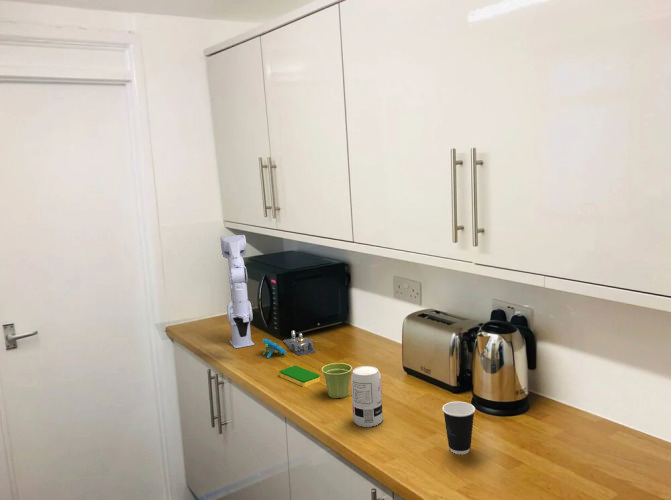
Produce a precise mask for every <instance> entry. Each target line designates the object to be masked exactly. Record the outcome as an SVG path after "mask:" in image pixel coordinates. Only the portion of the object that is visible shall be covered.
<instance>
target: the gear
mask: <svg viewBox="0 0 671 500" xmlns="http://www.w3.org/2000/svg"><path fill="white" fill-rule="evenodd" d="M262 342H263V344H264V347H265V348H264V351H263V353H262V355H263V356H265V355H266V353H267V351H269V352H268V354H267V356H266V359H270V357H271V356H272V355H273V353H274V352H275V351H276V352H278V354H282V355H287V351H286V349H284V348H283V347H282V346H280V345H278V344H277V342H273V341H272V340H270V339H267V338H263V339H262Z"/></svg>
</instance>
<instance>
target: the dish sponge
mask: <svg viewBox="0 0 671 500" xmlns="http://www.w3.org/2000/svg"><path fill="white" fill-rule="evenodd" d="M278 372H279V377H280V378H282V379H284V380H286V381H290V382H292V383H294V384H296V385H298V386H300V387H303V388H305V387H308V386H310V385H313V384H316V383H319V382H320V381H321V375H320V374H318V373H316V372H313V371H311V370H308V369H306V368H303V367H301V366H298V365H295V364H294V365H293V366H292V365H291V366H289V367H286V368H284V369H281V370H279V371H278Z"/></svg>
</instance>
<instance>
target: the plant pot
mask: <svg viewBox="0 0 671 500" xmlns="http://www.w3.org/2000/svg"><path fill="white" fill-rule="evenodd" d="M352 371H353V367H352V366H351V364H348V363H345V362H344V363H343V362H333V363H329V364H325V365H324V366H322V367H321V372H322V373H323V376H324V379H325V384H326V388H327V389H326V390H327V395H328V397H330V398H333V399H338V398H341V399H343V398H345V397H347V396H348V395H349V386H350V385H349V384H350V379H351V376H350V375H352V373H351V372H352Z"/></svg>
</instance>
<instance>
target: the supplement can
mask: <svg viewBox="0 0 671 500" xmlns="http://www.w3.org/2000/svg"><path fill="white" fill-rule="evenodd" d="M350 375H351V376H350V384H351V385H350V386H351V398H352V399H351V401H352V419H353V422H354V423H355V424H356V425H357V426H358V427H361V426H362V428H373V427H372V426H374V427H377V426H379V425H380V424H381V423H382V422H383V419H384V415H383V397H382V395H383V394H382V393H383V391H382V378H381V377H382V374H381V372H380V371H379V369H378V368H377V367H375V366H374V365H373V366H372V365H362V366H356V367H355V368H354V369H352V373H351V374H350ZM379 423H380V424H379ZM378 424H379V425H378ZM376 425H377V426H376Z"/></svg>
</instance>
